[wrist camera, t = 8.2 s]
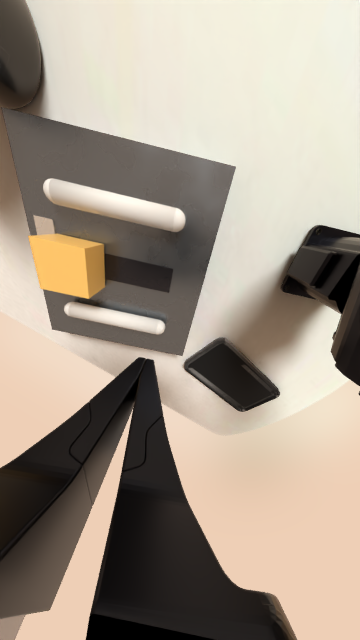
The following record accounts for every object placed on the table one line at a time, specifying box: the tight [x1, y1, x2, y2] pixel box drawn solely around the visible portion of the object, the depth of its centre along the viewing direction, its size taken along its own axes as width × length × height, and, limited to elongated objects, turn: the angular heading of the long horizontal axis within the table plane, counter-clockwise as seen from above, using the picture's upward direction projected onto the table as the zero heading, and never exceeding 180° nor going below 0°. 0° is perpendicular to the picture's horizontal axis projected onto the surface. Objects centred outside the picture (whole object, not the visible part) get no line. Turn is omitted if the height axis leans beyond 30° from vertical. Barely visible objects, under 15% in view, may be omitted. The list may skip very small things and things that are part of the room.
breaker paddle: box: [28, 234, 105, 299], centre depth 14 cm, size 4×4×3 cm
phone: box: [185, 338, 280, 412], centre depth 26 cm, size 8×1×15 cm
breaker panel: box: [2, 107, 236, 356], centre depth 17 cm, size 16×18×3 cm
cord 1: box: [64, 302, 165, 335], centre depth 18 cm, size 11×2×2 cm, turn 78°
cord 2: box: [43, 178, 185, 232], centre depth 13 cm, size 11×2×2 cm, turn 78°
